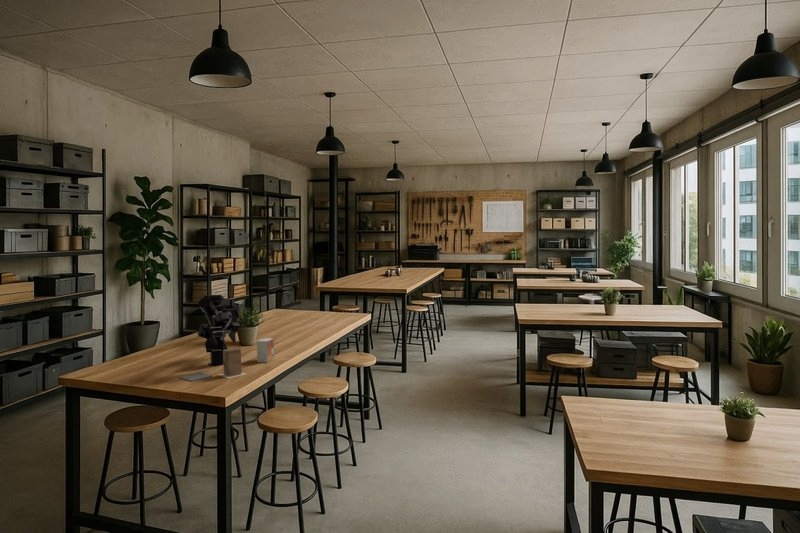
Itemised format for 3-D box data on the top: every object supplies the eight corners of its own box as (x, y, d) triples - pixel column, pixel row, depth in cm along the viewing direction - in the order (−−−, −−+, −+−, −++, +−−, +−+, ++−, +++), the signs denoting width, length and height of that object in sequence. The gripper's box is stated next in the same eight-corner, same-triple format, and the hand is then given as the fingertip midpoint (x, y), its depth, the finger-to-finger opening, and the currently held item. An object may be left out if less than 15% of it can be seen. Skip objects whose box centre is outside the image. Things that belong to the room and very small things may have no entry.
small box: (267, 362, 253) (267, 341, 253) (257, 362, 254) (256, 341, 254) (274, 358, 261) (274, 338, 260) (264, 358, 262) (263, 337, 262)
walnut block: (223, 374, 232) (223, 350, 231) (235, 371, 236) (234, 348, 235) (229, 376, 228) (228, 351, 227) (241, 374, 232) (240, 349, 231)
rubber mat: (178, 378, 226) (178, 377, 226) (199, 373, 234) (199, 372, 234) (192, 382, 220) (192, 380, 220) (212, 376, 228) (212, 375, 228)
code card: (218, 374, 232) (218, 374, 232) (237, 371, 238) (237, 370, 238) (227, 378, 225) (227, 378, 225) (246, 374, 232) (246, 374, 232)
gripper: (201, 306, 233) (213, 333, 225) (238, 305, 247) (250, 330, 239) (192, 323, 238) (203, 349, 230) (229, 321, 252) (241, 345, 244)
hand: (225, 343), depth 236 cm, fingers open, 9 cm apart
